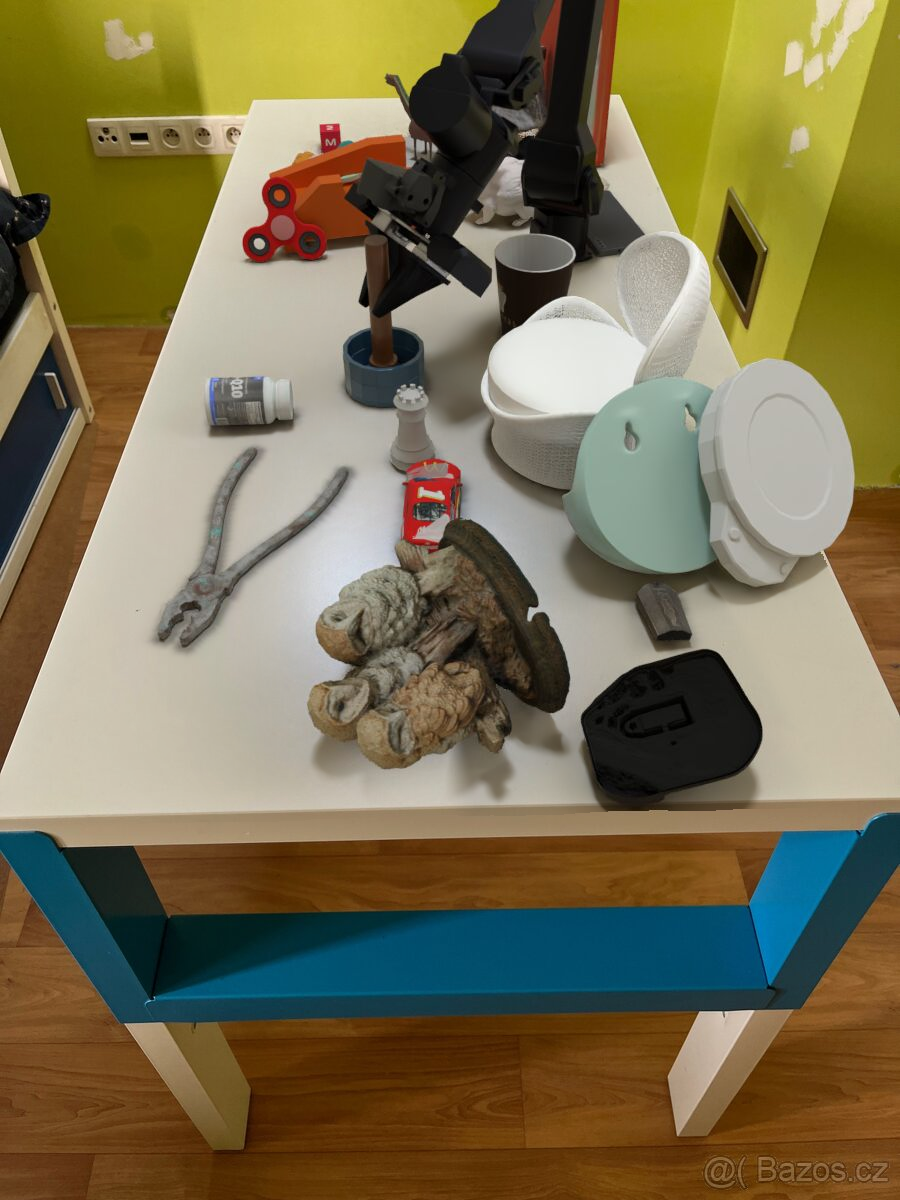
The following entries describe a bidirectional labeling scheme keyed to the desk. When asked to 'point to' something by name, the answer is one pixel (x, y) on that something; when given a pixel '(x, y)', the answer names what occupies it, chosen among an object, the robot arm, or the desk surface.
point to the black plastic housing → (670, 728)
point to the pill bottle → (247, 400)
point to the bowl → (382, 382)
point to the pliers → (213, 588)
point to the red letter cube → (329, 137)
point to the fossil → (528, 109)
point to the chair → (593, 356)
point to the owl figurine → (436, 651)
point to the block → (663, 612)
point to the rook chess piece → (411, 429)
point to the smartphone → (612, 228)
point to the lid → (773, 470)
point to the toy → (282, 226)
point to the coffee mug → (531, 275)
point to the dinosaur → (412, 128)
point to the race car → (430, 502)
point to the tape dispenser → (336, 185)
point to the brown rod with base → (376, 282)
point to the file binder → (601, 75)
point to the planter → (644, 481)
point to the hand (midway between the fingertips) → (368, 310)
